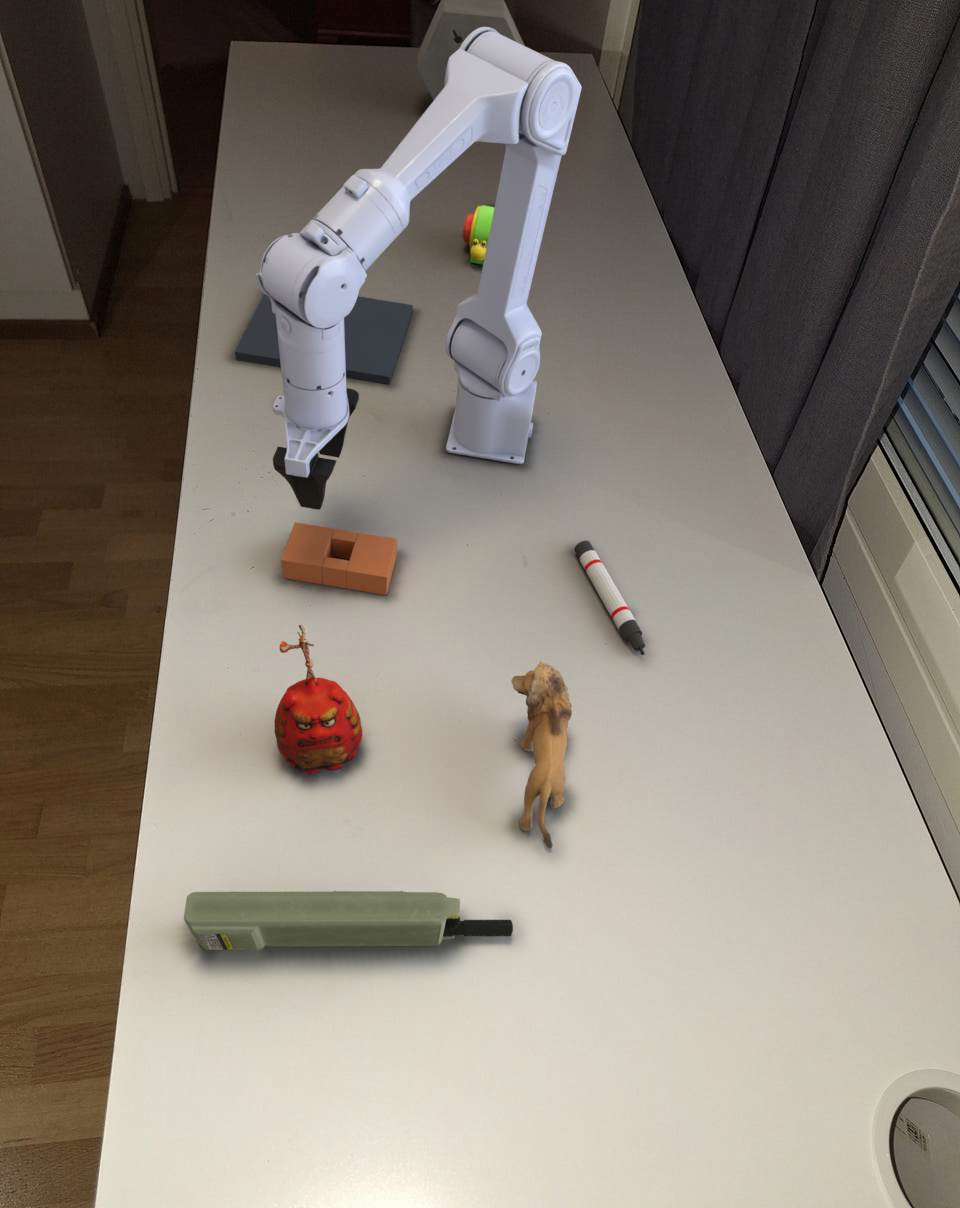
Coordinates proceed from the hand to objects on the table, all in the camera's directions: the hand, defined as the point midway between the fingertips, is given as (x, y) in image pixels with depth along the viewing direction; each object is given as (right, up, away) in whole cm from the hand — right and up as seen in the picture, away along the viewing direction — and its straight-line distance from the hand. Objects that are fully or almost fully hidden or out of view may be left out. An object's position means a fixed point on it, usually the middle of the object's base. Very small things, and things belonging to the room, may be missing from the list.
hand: (321, 479), depth 92 cm
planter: (+14, +76, +72) cm, 105 cm away
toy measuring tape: (+18, +43, +47) cm, 66 cm away
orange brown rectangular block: (+1, -9, +4) cm, 10 cm away
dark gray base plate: (-4, +23, +29) cm, 37 cm away
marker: (+30, -13, +5) cm, 33 cm away
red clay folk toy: (+1, -26, -8) cm, 27 cm away
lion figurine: (+21, -28, -8) cm, 36 cm away
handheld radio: (+6, -39, -19) cm, 44 cm away
